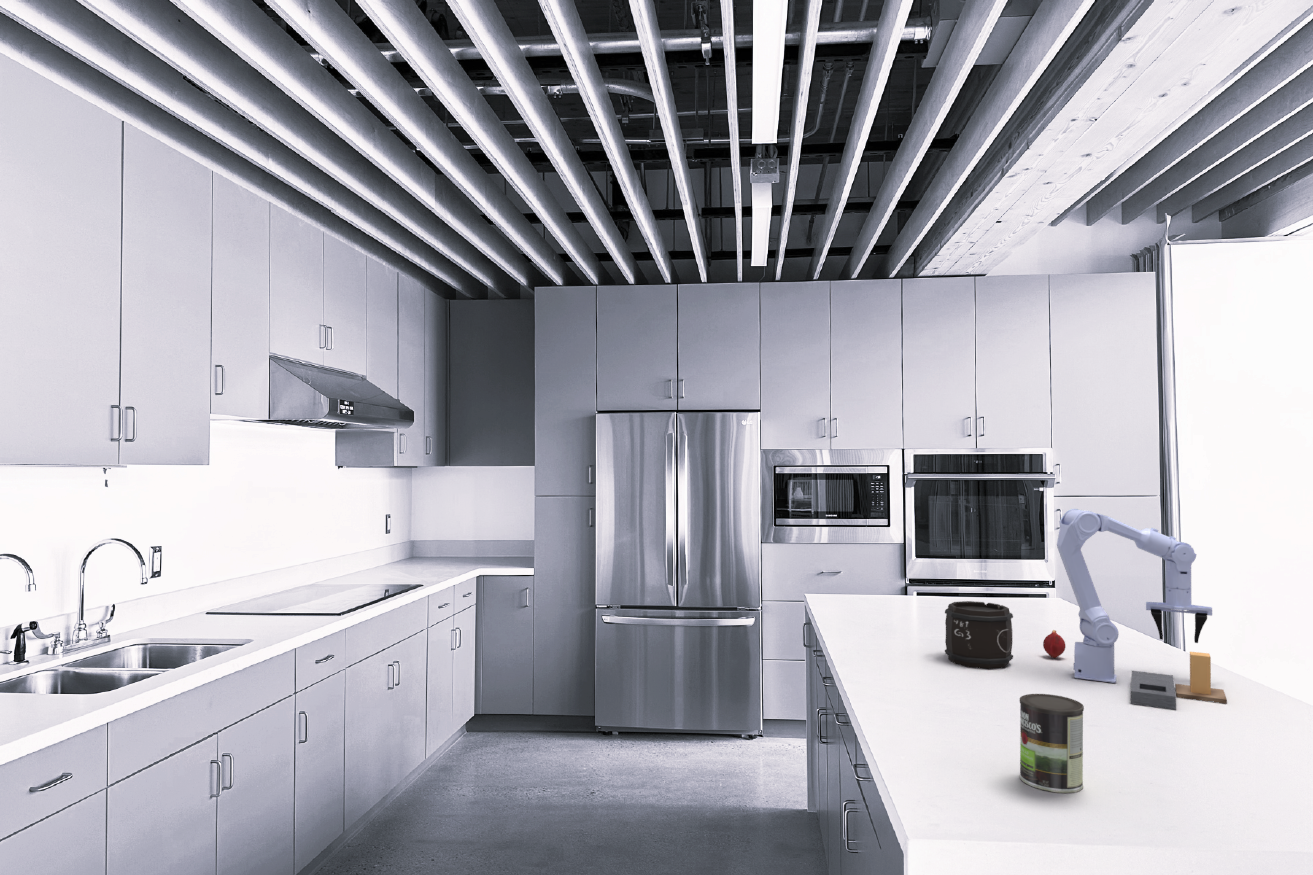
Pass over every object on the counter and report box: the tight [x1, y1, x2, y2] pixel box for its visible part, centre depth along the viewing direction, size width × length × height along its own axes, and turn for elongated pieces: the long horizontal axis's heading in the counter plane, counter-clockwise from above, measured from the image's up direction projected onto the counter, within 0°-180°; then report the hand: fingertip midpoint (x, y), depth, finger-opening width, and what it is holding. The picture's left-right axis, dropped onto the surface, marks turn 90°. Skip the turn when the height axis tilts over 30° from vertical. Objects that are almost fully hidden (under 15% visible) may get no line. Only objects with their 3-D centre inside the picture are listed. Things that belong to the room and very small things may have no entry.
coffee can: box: [1019, 693, 1085, 794], centre depth 148 cm, size 10×10×14 cm
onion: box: [1042, 629, 1067, 659], centre depth 240 cm, size 6×6×8 cm
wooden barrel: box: [944, 600, 1014, 670], centre depth 235 cm, size 18×18×16 cm
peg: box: [1189, 651, 1212, 695], centre depth 203 cm, size 4×4×9 cm
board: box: [1174, 683, 1228, 705], centre depth 203 cm, size 10×10×1 cm
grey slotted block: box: [1130, 670, 1177, 711], centre depth 203 cm, size 9×22×3 cm, turn 150°
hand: (1178, 640), depth 216 cm, fingers open, 7 cm apart
